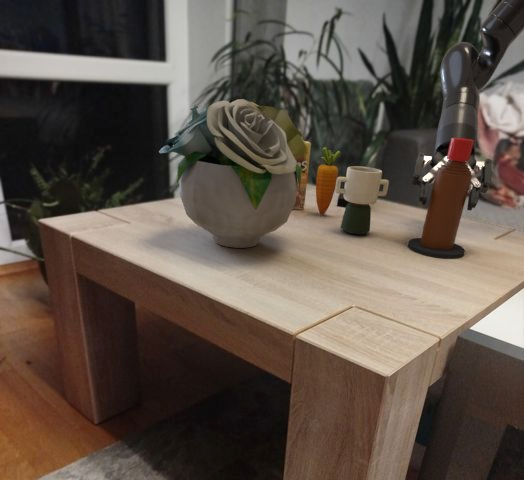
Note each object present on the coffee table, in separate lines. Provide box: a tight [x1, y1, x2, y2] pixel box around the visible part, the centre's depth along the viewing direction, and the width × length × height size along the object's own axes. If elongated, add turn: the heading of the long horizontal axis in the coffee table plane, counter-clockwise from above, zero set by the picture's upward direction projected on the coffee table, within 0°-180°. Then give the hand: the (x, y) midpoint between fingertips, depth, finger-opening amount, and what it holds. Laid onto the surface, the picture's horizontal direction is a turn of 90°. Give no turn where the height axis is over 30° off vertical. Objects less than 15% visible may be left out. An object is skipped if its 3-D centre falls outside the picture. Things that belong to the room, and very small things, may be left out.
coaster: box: [407, 237, 466, 259], centre depth 100 cm, size 11×11×1 cm
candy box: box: [292, 140, 312, 211], centre depth 119 cm, size 9×4×15 cm, turn 100°
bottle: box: [420, 160, 472, 250], centre depth 96 cm, size 6×6×19 cm
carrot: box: [315, 146, 342, 216], centre depth 115 cm, size 5×5×15 cm
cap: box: [447, 138, 474, 162], centre depth 92 cm, size 4×4×4 cm
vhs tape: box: [336, 187, 349, 208], centre depth 134 cm, size 8×14×2 cm, turn 168°
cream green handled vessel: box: [334, 165, 390, 235], centre depth 104 cm, size 11×7×13 cm, turn 93°
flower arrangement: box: [158, 98, 307, 249], centre depth 89 cm, size 25×25×24 cm
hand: (447, 205), depth 95 cm, fingers open, 8 cm apart
